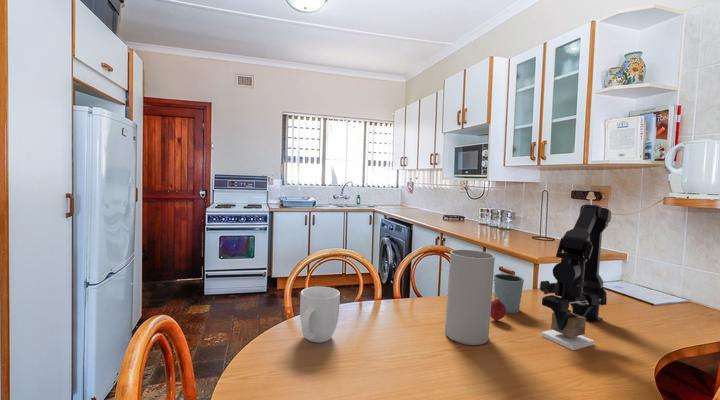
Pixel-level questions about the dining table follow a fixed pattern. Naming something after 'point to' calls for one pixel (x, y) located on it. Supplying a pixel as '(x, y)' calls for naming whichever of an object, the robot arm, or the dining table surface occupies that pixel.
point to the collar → (571, 325)
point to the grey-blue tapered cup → (508, 291)
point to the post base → (567, 340)
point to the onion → (497, 309)
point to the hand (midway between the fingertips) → (568, 328)
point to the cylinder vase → (469, 296)
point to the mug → (319, 313)
